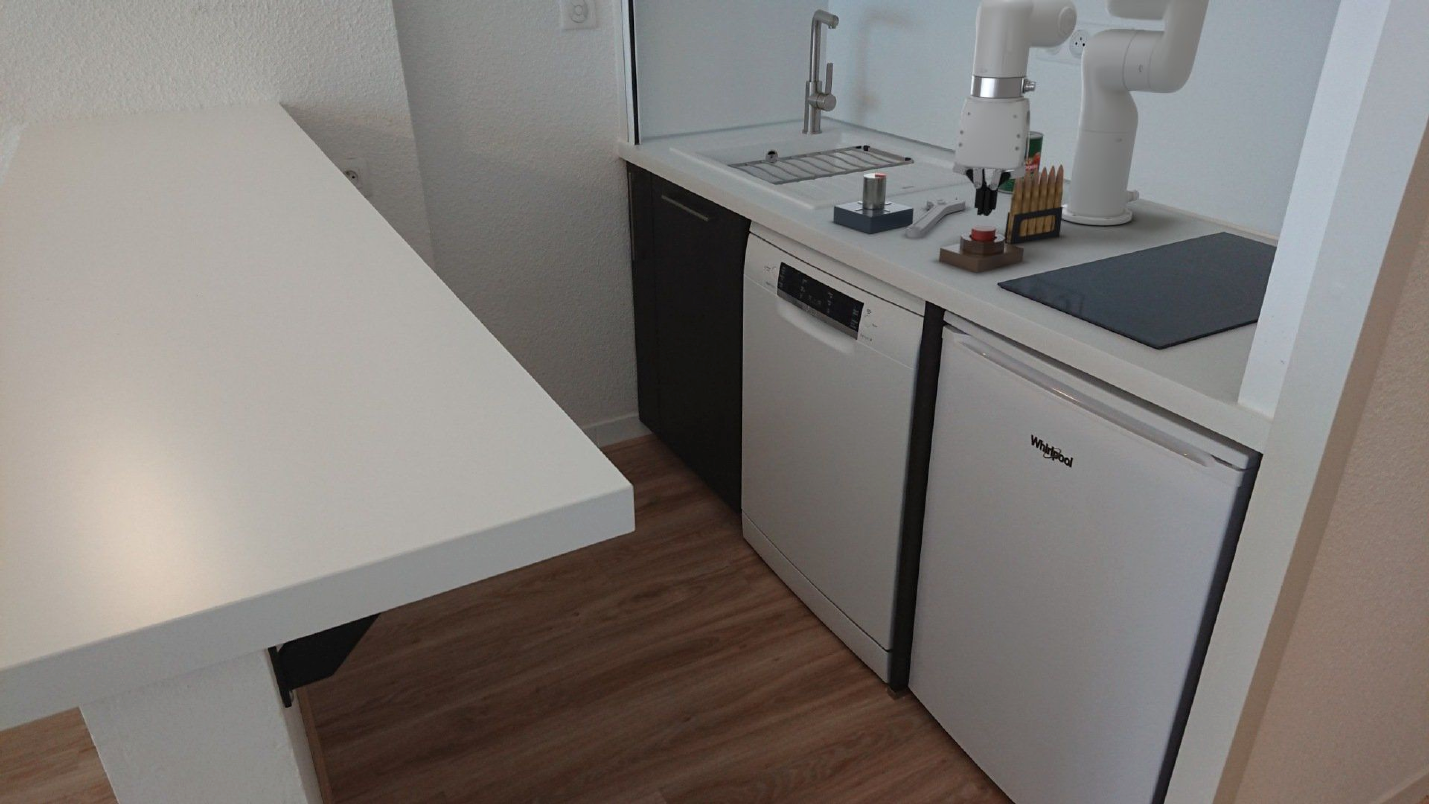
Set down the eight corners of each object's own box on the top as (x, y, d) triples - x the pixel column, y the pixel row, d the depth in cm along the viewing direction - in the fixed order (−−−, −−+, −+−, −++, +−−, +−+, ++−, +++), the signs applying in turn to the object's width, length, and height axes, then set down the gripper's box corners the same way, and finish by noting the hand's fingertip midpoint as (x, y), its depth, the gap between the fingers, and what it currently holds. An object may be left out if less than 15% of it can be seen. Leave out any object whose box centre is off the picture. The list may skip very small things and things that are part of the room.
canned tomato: (1020, 196, 187) (1026, 138, 182) (987, 189, 193) (993, 133, 188) (1045, 189, 191) (1052, 133, 186) (1012, 183, 197) (1018, 128, 192)
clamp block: (875, 213, 177) (875, 196, 176) (912, 224, 170) (913, 207, 168) (833, 222, 172) (833, 204, 171) (870, 234, 165) (870, 215, 163)
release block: (983, 250, 155) (985, 226, 153) (1022, 262, 148) (1025, 237, 147) (938, 261, 150) (940, 236, 148) (977, 273, 144) (979, 248, 142)
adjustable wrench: (919, 239, 161) (920, 229, 161) (884, 235, 164) (885, 225, 164) (968, 206, 180) (969, 197, 179) (936, 203, 183) (936, 193, 183)
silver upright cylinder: (859, 208, 169) (860, 175, 166) (866, 203, 172) (867, 170, 170) (880, 210, 167) (882, 177, 165) (887, 205, 171) (889, 172, 168)
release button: (982, 234, 150) (983, 223, 149) (999, 239, 147) (1000, 228, 146) (965, 238, 148) (966, 227, 147) (983, 243, 145) (984, 232, 145)
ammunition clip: (1051, 233, 162) (1061, 162, 157) (1059, 236, 161) (1069, 164, 156) (1003, 242, 158) (1011, 170, 153) (1010, 245, 157) (1019, 172, 152)
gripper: (1055, 87, 138) (1039, 213, 146) (953, 83, 144) (942, 203, 152) (1046, 94, 132) (1030, 224, 140) (939, 89, 138) (929, 214, 146)
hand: (984, 213), depth 146 cm, fingers closed
